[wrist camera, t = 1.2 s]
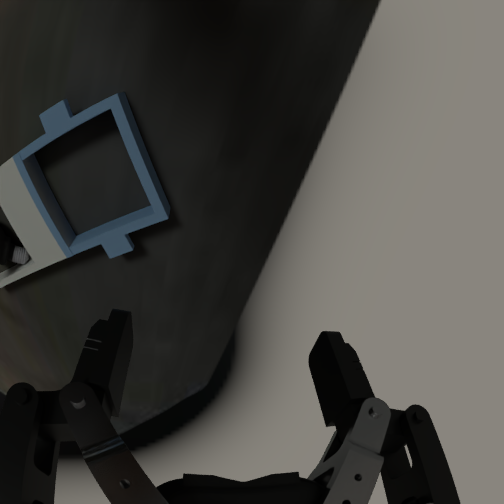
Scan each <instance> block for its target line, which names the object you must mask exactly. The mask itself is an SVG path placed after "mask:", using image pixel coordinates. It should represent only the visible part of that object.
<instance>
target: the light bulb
mask: <svg viewBox="0 0 504 504" xmlns="http://www.w3.org/2000/svg"><path fill="white" fill-rule="evenodd" d="M28 259H29V255H28V252H27V250H26V249H25V248H22V247H20V246H19V247H18V246H16V245H14V244H12V243H11V238H10V237H7V236H5V234H4V231H3V229H2V228H1V226H0V264H1V265H6V262H7V261H11V262H12V261H13V262H15V263H16V262H17V263H19V264H20V263H21V264H25V263H26V262H27V261H28Z"/></svg>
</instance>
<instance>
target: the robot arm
mask: <svg viewBox="0 0 504 504" xmlns="http://www.w3.org/2000/svg"><path fill="white" fill-rule="evenodd" d="M132 348H133V329H132V316H131V312H130V311H124V310H118V309H112V311H111V314H110V316H109V319H108V321H106V320H101V319H99V320H98V321H97V322H96V323H95V324H94V325H93V326H92V327H91V329H90V332H89V335H88V337H87V340H86V342H85V345H84V348H83V350H82V353H81V356H80V359H79V362H78V364H77V367H76V370H75V373H74V376H73V379H72V381H71V382H70V383H69V384H67V385H65V386H64V387H63V388H62V389H61V390H57V391H36V390H35V388H34V387H33V386H32V385H30V384H28V383H22V382H21V383H17V384H14V385H13V386H12V387H11V388H10V389H9V390H8V392H7V395H6V398H5V401H4V404H3V408H2V411H1V415H0V504H54V494H55V480H56V471H57V463H58V455H59V448H60V441H77V443H78V445H79V447H80V449H81V451H82V453H83V457H84V460H85V462H86V464H87V465H88V467H89V469H90V471H91V472H92V474H93V476H94V478H95V479H96V481H97V482H98V484H99V486H100V487H101V489H102V490H103V492H104V494H105V495H106V497H107V498H108V500H109V501H110V502H111V504H368V502H369V499H370V497H371V495H372V492H373V489H374V487H375V484H376V482H377V479H378V476H379V473H380V472H381V476H382V480H383V484H384V488H385V492H386V497H387V501H388V504H460V500H459V497H458V494H457V490H456V487H455V484H454V481H453V478H452V474H451V472H450V469H449V466H448V463H447V460H446V457H445V454H444V451H443V449H442V446H441V443H440V441H439V438H438V435H437V433H436V430H435V428H434V425H433V423H432V420H431V418H430V415H429V413H428V412H427V410H426V409H425V408H423V407H422V406H420V405H411V406H410V407H409V408H407V409H406V410H405V411H401V410H396V409H390V408H389V407H388V405H387V404H386V403H385V402H384V401H382V400H381V399H379V398H375V396H374V394H373V392H372V389H371V386H370V384H369V381H368V379H367V377H366V374H365V372H364V370H363V367H362V365H361V363H360V362H359V361H360V360H359V358H358V356H357V353H356V351H355V350H354V349H353V348H352V347H351V346H350V345H349V343H345V342H344V340H343V338H342V335H341V333H340V332H331V331H323V332H321V334H320V335H319V337H318V339H317V341H316V343H315V345H314V347H313V349H312V350H311V352H310V355H309V368H310V371H311V375H312V378H313V382H314V385H315V389H316V392H317V396H318V399H319V403H320V406H321V410H322V413H323V417H324V421H325V424H326V427H328V426H336V431H335V432H334V434H333V436H332V438H331V441H330V443H329V444H328V446H327V448H326V451H325V452H324V455H323V457H322V458H321V460H320V462H319V464H318V465H317V467H316V468H315V469H314V470H313V472H312V473H311V474H310V476H309V477H308V478H307V479H305V478H301V477H299V472H292V473H281V474H271V475H268V476H264V477H261V478H257V479H254V480H250V481H247V482H240V481H235V480H230V479H226V478H222V477H218V476H214V475H197V474H183V478H182V479H175V480H172V481H168V482H166V483H163V484H161V485H159V486H158V487H155V486H154V484H153V483H152V482H151V480H150V479H149V478H148V477H147V475H146V474H145V473H144V471H143V470H142V468H141V467H140V465H139V464H138V463H137V461H136V460H135V458H134V457H133V455H132V454H131V452H130V451H129V449H128V448H127V446H126V445H125V443H124V442H123V441H122V439H121V438H120V437H119V435H118V434H117V432H116V430H115V429H114V427H113V425H112V424H111V422H110V419H111V416H115V417H119V412H120V406H121V401H122V395H123V390H124V385H125V380H126V376H127V371H128V367H129V362H130V358H131V353H132ZM406 444H407V447H408V450H409V453H410V456H411V459H412V468H411V466H410V463H409V460H408V457H407V454H406V450H405V447H404V446H405V445H406Z"/></svg>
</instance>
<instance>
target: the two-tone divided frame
mask: <svg viewBox="0 0 504 504" xmlns="http://www.w3.org/2000/svg"><path fill="white" fill-rule="evenodd" d="M110 109H111V110H112V113H113V116H114V118H115V121H116V123H117V126H118V128H119V131H120V133H121V136H122V138H123V141H124V143H125V146H126V148H127V151H128V153H129V155H130V158H131V160H132V163H133V165H134V167H135V170H136V172H137V174H138V177H139V179H140V181H141V183H142V186H143V188H144V190H145V192H146V195H147V197H148V199H149V201H150V203H151V206H148V207H145V208H143V209H140V210H138V211H135V212H133V213H130V214H127V215H125V216H122V217H120V218H117V219H115V220H113V221H110V222H108V223H105V224H103V225H101V226H98V227H96V228H93V229H91V230H89V231H86V232H84V233H82V234H80V235H77V236H76V235H75V233H74V231H73V230H72V228H71V226H70V224H69V223H68V221H67V219H66V217H65V215H64V214H63V212H62V210H61V208H60V206H59V204H58V202H57V200H56V199H55V197H54V195H53V193H52V191H51V189H50V187H49V185H48V183H47V181H46V179H45V177H44V174H43V172H42V170H41V168H40V166H39V164H38V161H37V159H36V157H35V155H34V153H35V152H36V151H38V150H39V149H41V148H43V147H44V146H46V145H47V144H49V143H50V142H52V141H54V140H55V139H57V138H58V137H60V136H62V135H63V134H65V133H67V132H68V131H70V130H72V129H74V128H75V127H77V126H79V125H81V124H83V123H84V122H86V121H88V120H90V119H92V118H94V117H96V116H98V115H100V114H102V113H104V112H106V111H108V110H110ZM39 116H40V119H41V122H42V124H43V127H44V129H45V132H46V134H44V135H43V136H41V137H40V138H38V139H37V140H35V141H34V142H32V143H31V144H29V145H28V146H27V147H25V148H24V149H22V150H21V151H20V152H18V153H17V154H16V155H14V156H13V157H12V158H10V159H9V160H8V161H7V162H5V163H4V164H3V165H2V166H0V206H1V207H2V209H3V211H4V213H5V215H6V217H7V218H8V220H9V222H10V224H11V226H12V227H13V229H14V231H15V232H16V234H17V236H18V237H19V239H20V241H21V242H22V244H23V245H24V247H25V249H26V250H27V252H28V253H29V255H30V256H31V258H29V259H28V261H27V262H26V263H25V264H21V263H20V264H17V265H15V266H13V267H11V268H9V269H7V270H5V271H3V272H1V273H0V288H1V287H3V286H5V285H7V284H9V283H12V282H14V281H16V280H18V279H20V278H22V277H24V276H27V275H29V274H31V273H33V272H36V271H38V270H40V269H42V268H45V267H47V266H49V265H51V264H54V263H56V262H58V261H61V260H63V259H65V258H69V257H71V256H73V255H75V254H77V253H80V252H82V251H85V250H87V249H90V248H92V247H95V246H97V245H100V244H101V245H102V246H103V248H104V250H105V251H106V253H107V255H108V256H109V258H113V257H116V256H119V255H121V254H124V253H127V252H130V251H133V249H134V245H133V243H132V241H131V239H130V237H129V235H128V233H131V232H133V231H136V230H139V229H141V228H144V227H147V226H150V225H152V224H155V223H158V222H161V221H163V220H166V219H169V213H170V209H171V207H170V205H169V203H168V200H167V198H166V196H165V193H164V191H163V189H162V186H161V184H160V182H159V179H158V177H157V174H156V172H155V170H154V167H153V165H152V162H151V160H150V157H149V155H148V152H147V150H146V147H145V145H144V142H143V140H142V137H141V135H140V132H139V130H138V127H137V124H136V122H135V119H134V116H133V114H132V111H131V108H130V106H129V103H128V100H127V97H126V95H125V92H122V93H117V94H115V95H113V96H111V97H109V98H107V99H105V100H103V101H101V102H99V103H97V104H95V105H93V106H91V107H89V108H88V109H86V110H84V111H82V112H80V113H79V114H77V115H75V116H73V114H72V112H71V109H70V106H69V104H68V101H67V99H64V100H62V101H60V102H59V103H57V104H56V105H54V106H52V107H51V108H49V109H48V110H46V111H45V112H43V113H42V114H40V115H39Z"/></svg>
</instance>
